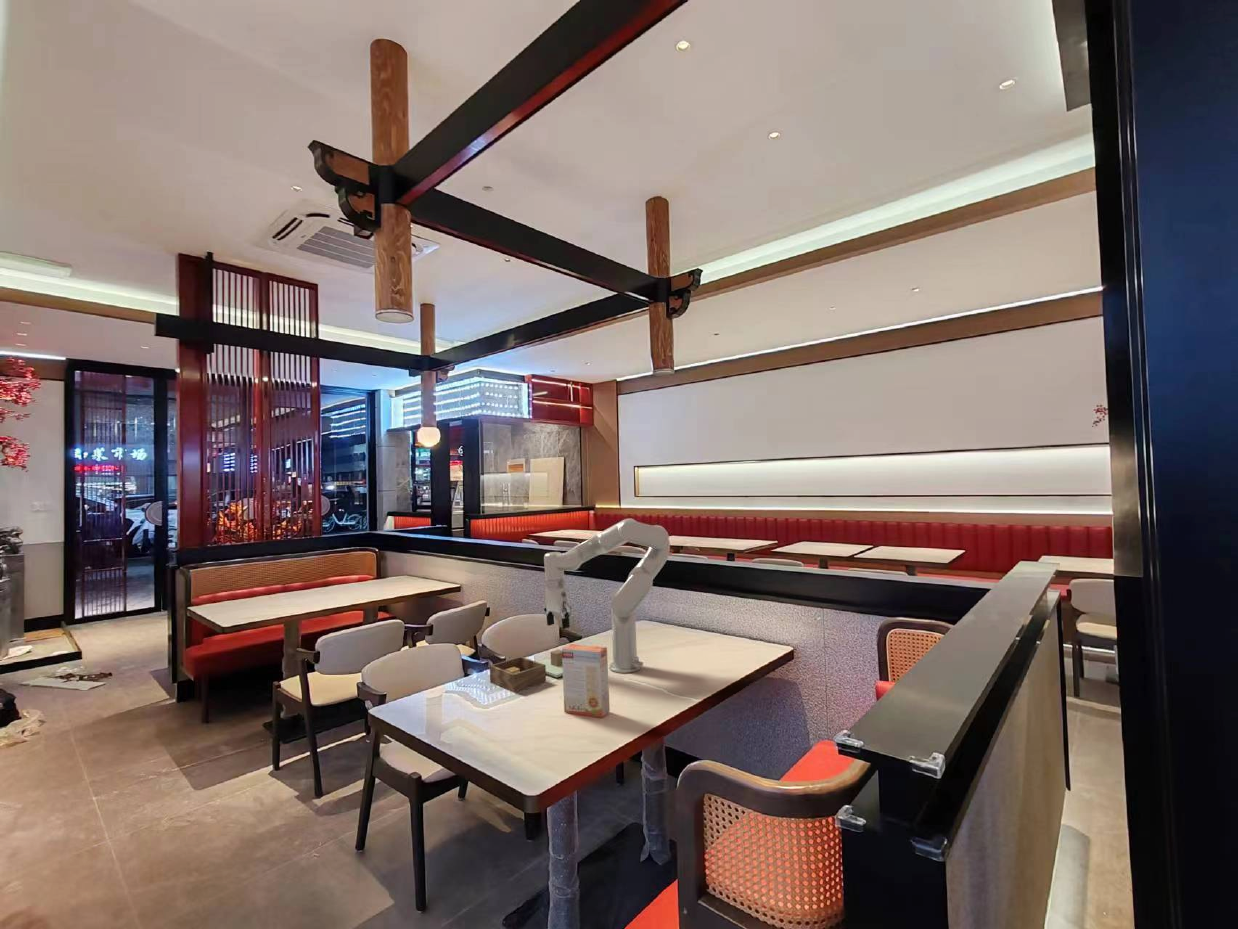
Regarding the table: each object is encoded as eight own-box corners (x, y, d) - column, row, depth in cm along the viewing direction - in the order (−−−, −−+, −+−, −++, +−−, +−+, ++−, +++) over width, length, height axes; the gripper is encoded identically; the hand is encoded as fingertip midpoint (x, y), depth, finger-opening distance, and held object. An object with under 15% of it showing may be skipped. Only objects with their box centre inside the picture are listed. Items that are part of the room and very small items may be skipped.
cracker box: (610, 711, 179) (607, 646, 180) (602, 719, 174) (599, 651, 174) (572, 705, 185) (570, 642, 186) (563, 712, 180) (561, 647, 180)
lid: (588, 668, 220) (587, 651, 220) (556, 680, 208) (555, 661, 209) (559, 659, 233) (559, 643, 233) (528, 670, 221) (527, 652, 221)
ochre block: (520, 679, 210) (519, 668, 210) (511, 682, 207) (510, 671, 207) (514, 677, 212) (513, 666, 213) (505, 680, 210) (504, 669, 210)
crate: (546, 683, 206) (545, 664, 207) (514, 695, 197) (513, 675, 197) (521, 674, 218) (520, 656, 218) (490, 684, 208) (489, 665, 208)
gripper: (576, 583, 218) (579, 627, 218) (549, 580, 230) (552, 621, 230) (561, 587, 213) (564, 631, 212) (534, 583, 225) (537, 625, 225)
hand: (558, 626), depth 221 cm, fingers open, 9 cm apart
